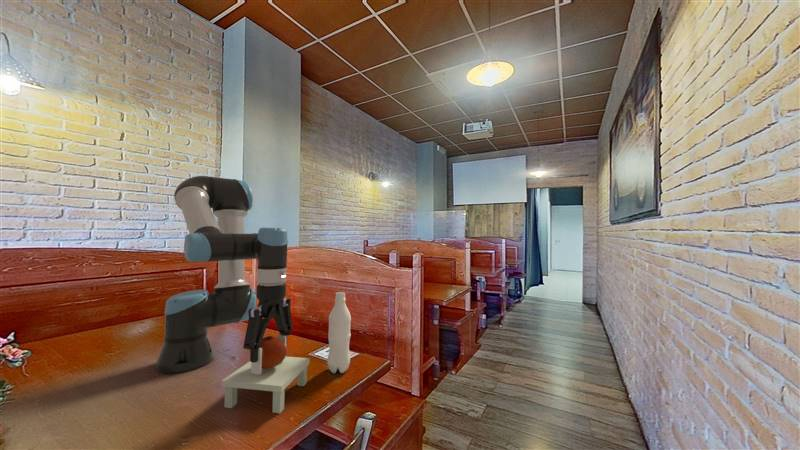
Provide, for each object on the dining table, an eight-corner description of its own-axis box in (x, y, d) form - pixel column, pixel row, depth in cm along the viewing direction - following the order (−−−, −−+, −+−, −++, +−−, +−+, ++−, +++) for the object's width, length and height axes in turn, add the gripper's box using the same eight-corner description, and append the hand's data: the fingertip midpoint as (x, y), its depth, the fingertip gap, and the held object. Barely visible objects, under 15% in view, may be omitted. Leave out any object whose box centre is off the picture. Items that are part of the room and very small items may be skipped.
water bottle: (344, 376, 93) (346, 295, 93) (323, 373, 94) (325, 294, 95) (352, 366, 100) (354, 291, 100) (332, 364, 101) (334, 290, 102)
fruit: (264, 377, 76) (265, 345, 77) (244, 368, 81) (245, 338, 81) (293, 364, 84) (294, 335, 84) (273, 356, 89) (274, 329, 89)
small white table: (221, 408, 76) (222, 380, 76) (259, 377, 91) (259, 354, 91) (280, 414, 73) (281, 386, 74) (308, 382, 89) (309, 358, 89)
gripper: (252, 292, 71) (249, 387, 71) (306, 278, 92) (304, 352, 92) (227, 289, 74) (225, 381, 73) (286, 276, 94) (284, 348, 94)
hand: (269, 365), depth 83 cm, fingers closed on fruit, 9 cm apart
